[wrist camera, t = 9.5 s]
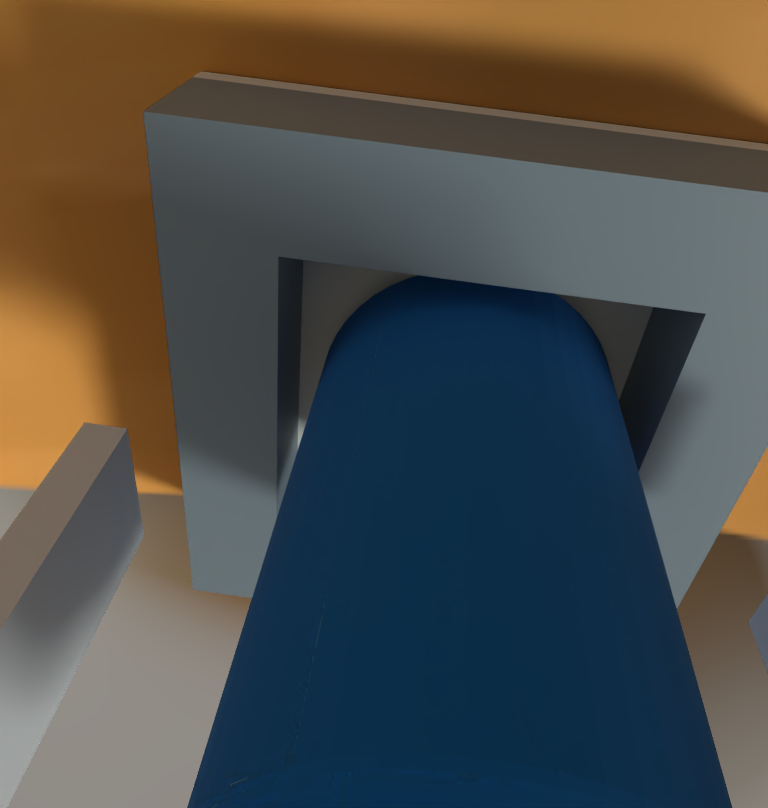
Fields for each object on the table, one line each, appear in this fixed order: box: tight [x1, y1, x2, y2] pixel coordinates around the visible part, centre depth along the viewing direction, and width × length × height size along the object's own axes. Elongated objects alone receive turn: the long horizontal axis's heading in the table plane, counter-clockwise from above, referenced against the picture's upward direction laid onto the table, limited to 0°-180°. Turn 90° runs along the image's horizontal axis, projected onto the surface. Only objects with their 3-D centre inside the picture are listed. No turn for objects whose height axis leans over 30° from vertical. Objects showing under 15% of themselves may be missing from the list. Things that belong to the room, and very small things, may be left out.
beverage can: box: [187, 275, 732, 808], centre depth 12 cm, size 6×6×12 cm
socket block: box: [143, 71, 768, 608], centre depth 16 cm, size 12×12×3 cm
